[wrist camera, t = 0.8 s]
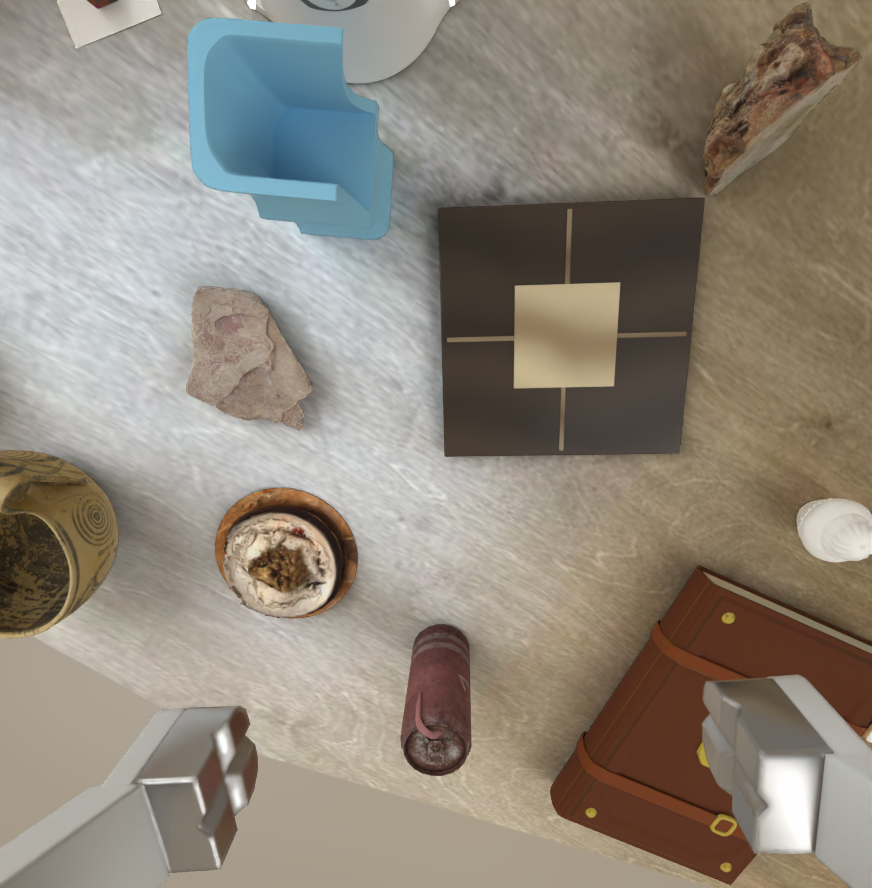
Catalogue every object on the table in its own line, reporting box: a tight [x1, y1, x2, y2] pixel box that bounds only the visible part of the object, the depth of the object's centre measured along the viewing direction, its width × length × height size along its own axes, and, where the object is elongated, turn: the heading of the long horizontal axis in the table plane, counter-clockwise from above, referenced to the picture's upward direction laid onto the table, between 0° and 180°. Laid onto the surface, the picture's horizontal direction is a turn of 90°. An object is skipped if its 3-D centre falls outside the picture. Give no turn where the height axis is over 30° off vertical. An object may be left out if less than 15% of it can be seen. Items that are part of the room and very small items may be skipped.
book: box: [550, 566, 872, 885], centre depth 56 cm, size 23×32×5 cm
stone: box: [186, 286, 313, 431], centre depth 49 cm, size 12×12×3 cm
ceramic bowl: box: [0, 450, 119, 639], centre depth 48 cm, size 22×17×15 cm
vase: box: [187, 18, 393, 239], centre depth 36 cm, size 8×8×20 cm
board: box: [438, 198, 705, 457], centre depth 48 cm, size 22×22×2 cm
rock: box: [703, 2, 862, 197], centre depth 39 cm, size 12×6×10 cm
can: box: [401, 625, 471, 776], centre depth 51 cm, size 6×6×14 cm
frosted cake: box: [215, 488, 357, 618], centre depth 54 cm, size 15×15×4 cm
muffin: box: [796, 498, 872, 562], centre depth 48 cm, size 6×6×7 cm
